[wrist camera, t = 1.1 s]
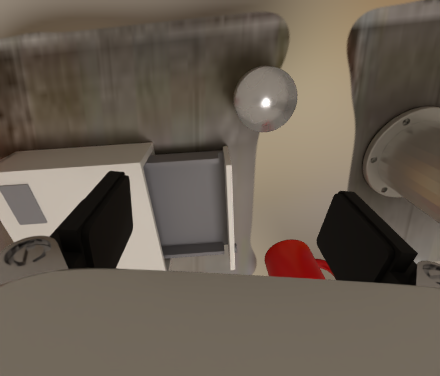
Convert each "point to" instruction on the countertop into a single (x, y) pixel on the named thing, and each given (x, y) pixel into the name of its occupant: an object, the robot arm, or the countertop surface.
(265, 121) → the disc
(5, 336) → the robot arm
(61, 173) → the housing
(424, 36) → the countertop surface
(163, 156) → the drawer
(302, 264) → the mug
